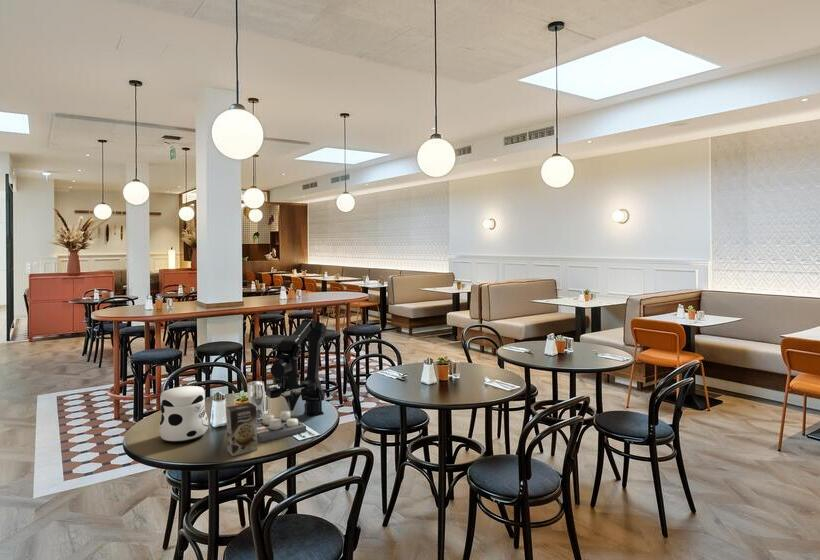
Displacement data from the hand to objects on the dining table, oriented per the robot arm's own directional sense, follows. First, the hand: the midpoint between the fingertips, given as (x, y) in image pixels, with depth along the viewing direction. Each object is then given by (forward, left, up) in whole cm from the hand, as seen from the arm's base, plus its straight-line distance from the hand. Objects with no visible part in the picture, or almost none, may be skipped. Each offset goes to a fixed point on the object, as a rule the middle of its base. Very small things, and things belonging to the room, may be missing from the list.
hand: (291, 410), depth 203 cm
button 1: (+7, -7, -5) cm, 11 cm away
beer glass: (+5, -24, -8) cm, 26 cm away
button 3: (0, -7, -5) cm, 9 cm away
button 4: (0, 0, -7) cm, 7 cm away
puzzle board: (+5, -4, -8) cm, 10 cm away
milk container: (+35, -20, -8) cm, 41 cm away
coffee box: (+22, +7, -8) cm, 25 cm away
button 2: (+7, 0, -6) cm, 9 cm away
